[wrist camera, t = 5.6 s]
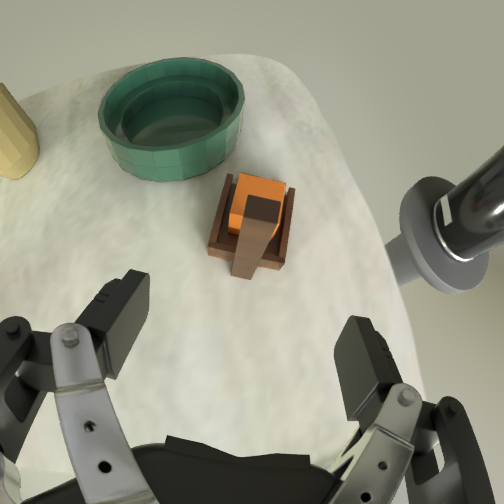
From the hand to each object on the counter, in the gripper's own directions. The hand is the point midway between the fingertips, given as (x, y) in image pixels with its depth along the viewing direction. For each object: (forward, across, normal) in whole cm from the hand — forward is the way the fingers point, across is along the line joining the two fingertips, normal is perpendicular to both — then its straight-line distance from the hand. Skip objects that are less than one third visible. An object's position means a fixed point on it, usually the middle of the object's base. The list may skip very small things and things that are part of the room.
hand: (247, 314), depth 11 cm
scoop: (+17, 0, +3) cm, 17 cm away
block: (+17, 0, +2) cm, 17 cm away
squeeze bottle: (+19, +31, +1) cm, 37 cm away
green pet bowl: (+24, +11, -4) cm, 27 cm away
